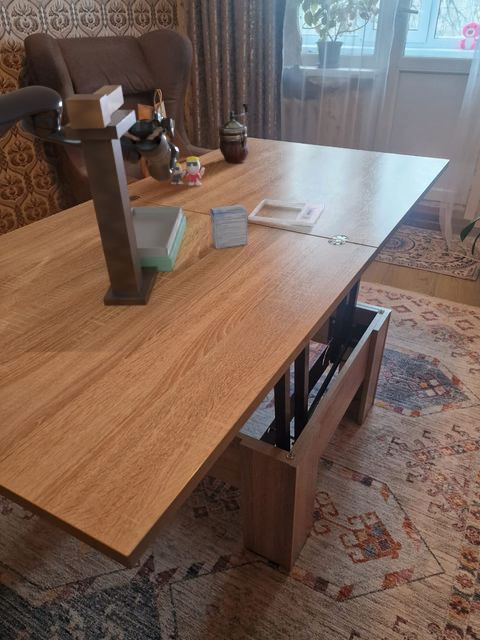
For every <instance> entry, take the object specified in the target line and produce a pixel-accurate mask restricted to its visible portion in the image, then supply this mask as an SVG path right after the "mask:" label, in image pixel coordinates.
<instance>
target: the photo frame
mask: <svg viewBox="0 0 480 640" xmlns="http://www.w3.org/2000/svg"><path fill="white" fill-rule="evenodd" d="M266 204H267V205H269V204H270V205H280V206H289V207H290V206H291V207H298V208H302V209H301V210H300V212H299V213H298V215H297V216H296V218H295V219H294V220H293V219H286V218H285V219H284V218H276V217H268V216H267V217H266V216H257V215H256V214H258V212H259V211H260V210H261V209H262V208H263V207H264V206H265V205H266ZM325 209H326V205H325V204H317V203H307V202H296V201H288V200H287V201H285V200H277V199H268V198H267V199H266V198H263V200H262V201H261V202H260V203H259V204H258V205H257V206H256V207H255V208H254V209H253V210H252V212H250V213H249V214H248V215H247V221H256V222H265V223H274V224H284V225H293V226H303V227H311V228H314V227H315V225H316V224H317V222H318V220H319V219H320V217H321V215H322V214H323V212H324V211H325Z"/></svg>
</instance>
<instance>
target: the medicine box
mask: <svg viewBox="0 0 480 640" xmlns="http://www.w3.org/2000/svg"><path fill="white" fill-rule="evenodd" d="M209 210H210V224H211V225H210V227H211V241H212V243H213V245H214V247H215V249H216V250H218V249H219V250H220V249H227V248H233V247H239V246H248V245H249V241H248V240H249V238H248V210H247V209H246V208H245V207H244V206H243V205H242V204H235V205H228V206H227V205H226V206H218V207H211V208H209Z"/></svg>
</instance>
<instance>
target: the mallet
mask: <svg viewBox="0 0 480 640" xmlns="http://www.w3.org/2000/svg"><path fill="white" fill-rule="evenodd" d="M123 95H124V94H123V89H122V85H121V84H115V85H114V84H112V85H111V84H109V85H106V84H105V85H103V86H102V87H100V88H99V89H98V90H96V91H95V92H93V93H81V94H80V93H76V94H75V93H74V94H71V95H70V96H69V97H67V98H65V99H64V102H65V106H66V110H67V115H68V120H69V123H70V125H71V129H99V128H106V126H107V125H108V124H109V123H110V122H111V119H110V116H111V115H112V114H113V113H114V112H115V111H116V110H119V108H121V106H123V105H124V102H125V101H124V96H123Z"/></svg>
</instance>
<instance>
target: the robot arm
mask: <svg viewBox="0 0 480 640" xmlns="http://www.w3.org/2000/svg"><path fill="white" fill-rule="evenodd" d="M63 108H64V103H63V99H62V97H61V95H60V94H59V93H58V92H57V91H56V90H54V89H53V88H50V87H47V86H44V85H43V86H42V85H30V86H25V87H22V88H18V89H16V90H12V91H9V92H6V93H3V94H0V140H2V139H3V138H4V137H5V136H6V135H7V134H8V133H9V132H10V131H11V130H12V129H13V128H14V127H15V126H16V125H17V124H18V123H19V124H20V125H19V126H20V127H21V128H22V130H23V131H24V132H25V133H27V134H28V135H30V136H32V137H35V138H38V139H40V140H44V141H47V142H50V143H51V142H52V143H56V144H61V145H64V146H69V147H74V148H79V149H82V147H81V142H80V140H67V137H66V132H65V128H64V126H62V125H61V123H62V117H63V110H64V109H63ZM167 137H168V138H169V139H174V138H175V127H174V123H173V120H172V118H171V117H165V118H163V116H161V114H160V113H158V112H157V111H156V110H151V118H141V119H139V120H136V122H135V123H134V124H133V125H132V126H131V127H130V128H129V129H128V130H127V131H126V132H125V133H124V134H123V135H122V136H121V137H120V138H119V139H120V145H121V151H122V157H123V162H126V163H129V164H130V165H131V164H132V165H138V164H139V163H140V162H141V160H142V158H143V159H144V160H145V161H144V162H145V167H146V170H147V171H146V172H147V173H148V175H149V176H151V178H152V179H154V180H155V181H157V182H159V183H168V182H170V181H172V180H173V175H174V172H175V168H176V164H177V163H178V161H179V157H180V150H179V147H177V146H176V144H174V143H173V142H171V141H168V140H167ZM171 179H172V180H171Z"/></svg>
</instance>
